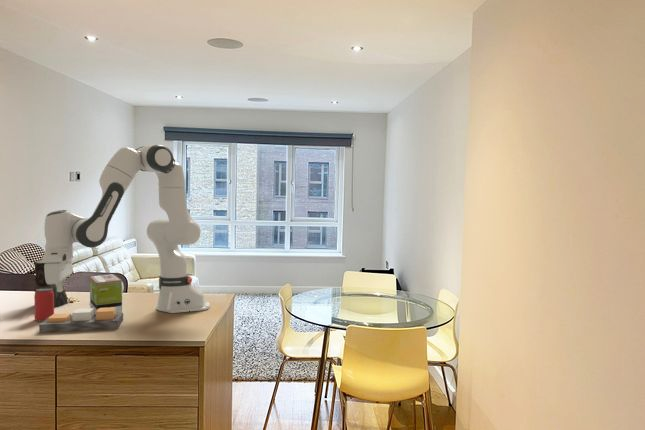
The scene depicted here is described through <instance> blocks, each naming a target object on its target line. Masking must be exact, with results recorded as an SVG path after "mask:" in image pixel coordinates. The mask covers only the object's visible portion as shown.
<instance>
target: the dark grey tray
mask: <svg viewBox="0 0 645 430" xmlns="http://www.w3.org/2000/svg"><path fill="white" fill-rule="evenodd" d="M49 317H50V316H49ZM49 317H48V318H49ZM48 318H47V319H46V320H44V321H41V323H40V324H39V325H38V326H39V327H38V328H39V329H38V330H39V332H38V333H39V334H47V333H64V332H82V331H83V332H84V331H86V332H87V331H102V330H103V331H105V330H119V327H120V326H121V325H122V323H123V322H124V312H122V313H116V317H115V319H109V320H96V314H94V317H93V319H92V320H88V321H72V314H71V318H70V319H69V320H68V321H67V322H48Z"/></svg>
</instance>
